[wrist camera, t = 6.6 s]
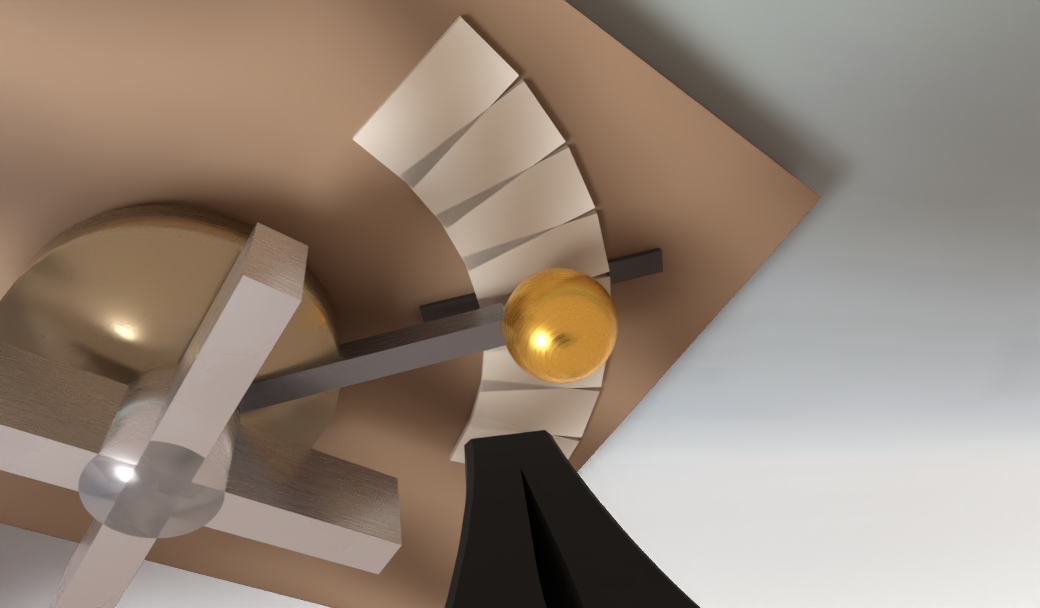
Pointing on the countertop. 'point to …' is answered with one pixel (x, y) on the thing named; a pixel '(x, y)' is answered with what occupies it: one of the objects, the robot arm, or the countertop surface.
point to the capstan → (227, 386)
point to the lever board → (392, 215)
